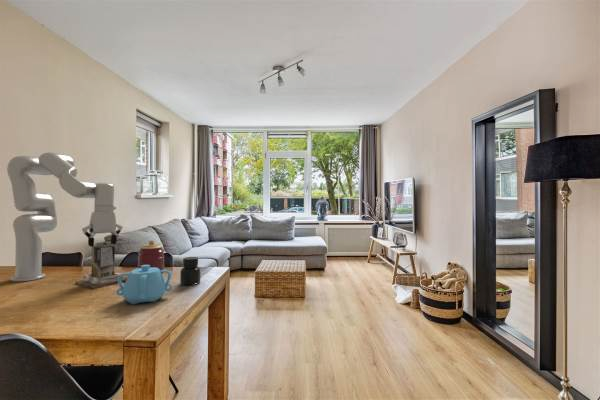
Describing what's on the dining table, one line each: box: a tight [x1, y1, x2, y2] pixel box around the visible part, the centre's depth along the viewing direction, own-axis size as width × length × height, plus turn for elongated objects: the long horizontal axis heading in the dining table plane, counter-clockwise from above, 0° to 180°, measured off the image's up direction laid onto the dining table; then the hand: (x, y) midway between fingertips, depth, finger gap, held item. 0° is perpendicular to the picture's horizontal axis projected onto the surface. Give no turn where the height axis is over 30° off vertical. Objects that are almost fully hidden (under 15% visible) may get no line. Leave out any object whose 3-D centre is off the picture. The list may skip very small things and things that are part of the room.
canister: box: [137, 240, 166, 274], centre depth 159 cm, size 13×13×18 cm
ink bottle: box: [179, 256, 201, 286], centre depth 140 cm, size 10×9×12 cm
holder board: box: [75, 272, 128, 290], centre depth 140 cm, size 16×16×4 cm
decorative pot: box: [115, 265, 173, 305], centre depth 116 cm, size 16×16×14 cm
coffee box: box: [91, 244, 116, 278], centre depth 140 cm, size 9×6×16 cm
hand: (102, 245), depth 140 cm, fingers open, 9 cm apart
